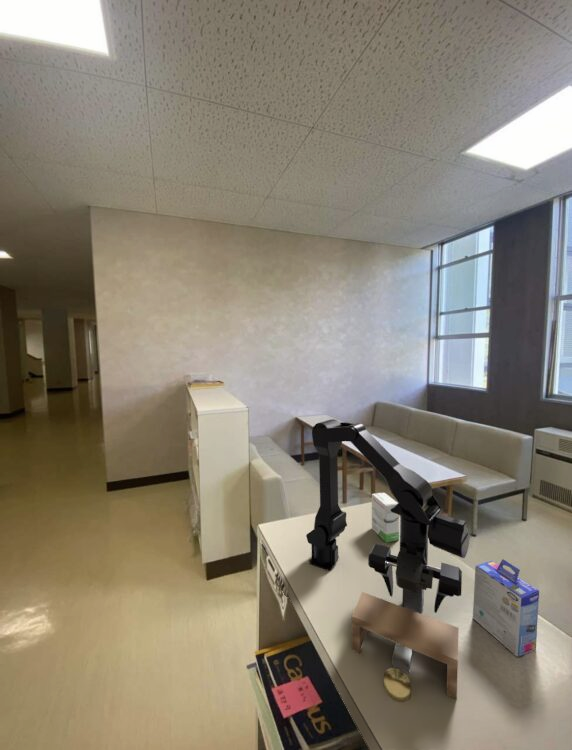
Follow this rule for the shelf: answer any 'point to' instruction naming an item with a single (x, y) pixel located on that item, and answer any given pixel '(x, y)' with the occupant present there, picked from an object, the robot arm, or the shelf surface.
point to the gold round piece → (397, 685)
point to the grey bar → (401, 653)
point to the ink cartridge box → (506, 606)
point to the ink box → (385, 517)
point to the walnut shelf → (407, 632)
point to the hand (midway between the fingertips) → (412, 603)
